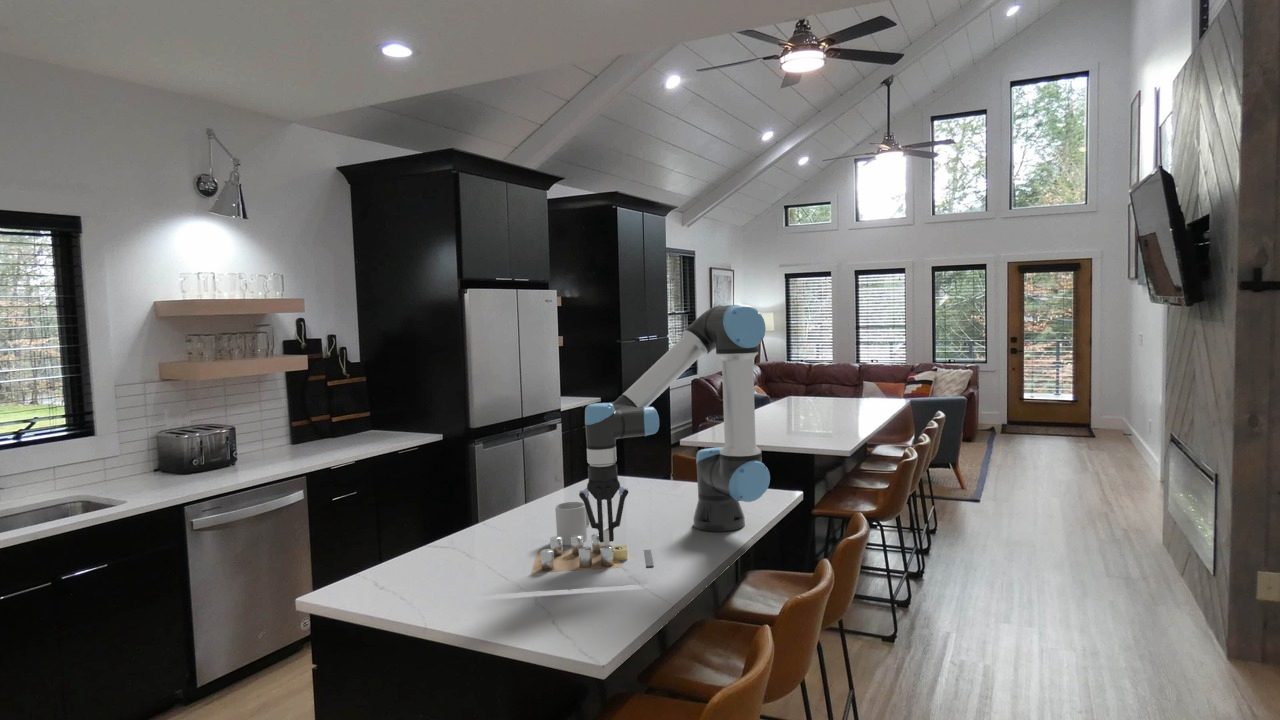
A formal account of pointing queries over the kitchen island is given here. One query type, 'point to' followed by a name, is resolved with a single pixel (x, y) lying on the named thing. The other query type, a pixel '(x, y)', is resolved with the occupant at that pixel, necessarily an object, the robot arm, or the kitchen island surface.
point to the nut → (620, 552)
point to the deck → (570, 563)
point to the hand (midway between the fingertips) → (607, 553)
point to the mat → (648, 558)
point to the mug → (571, 521)
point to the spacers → (577, 552)
